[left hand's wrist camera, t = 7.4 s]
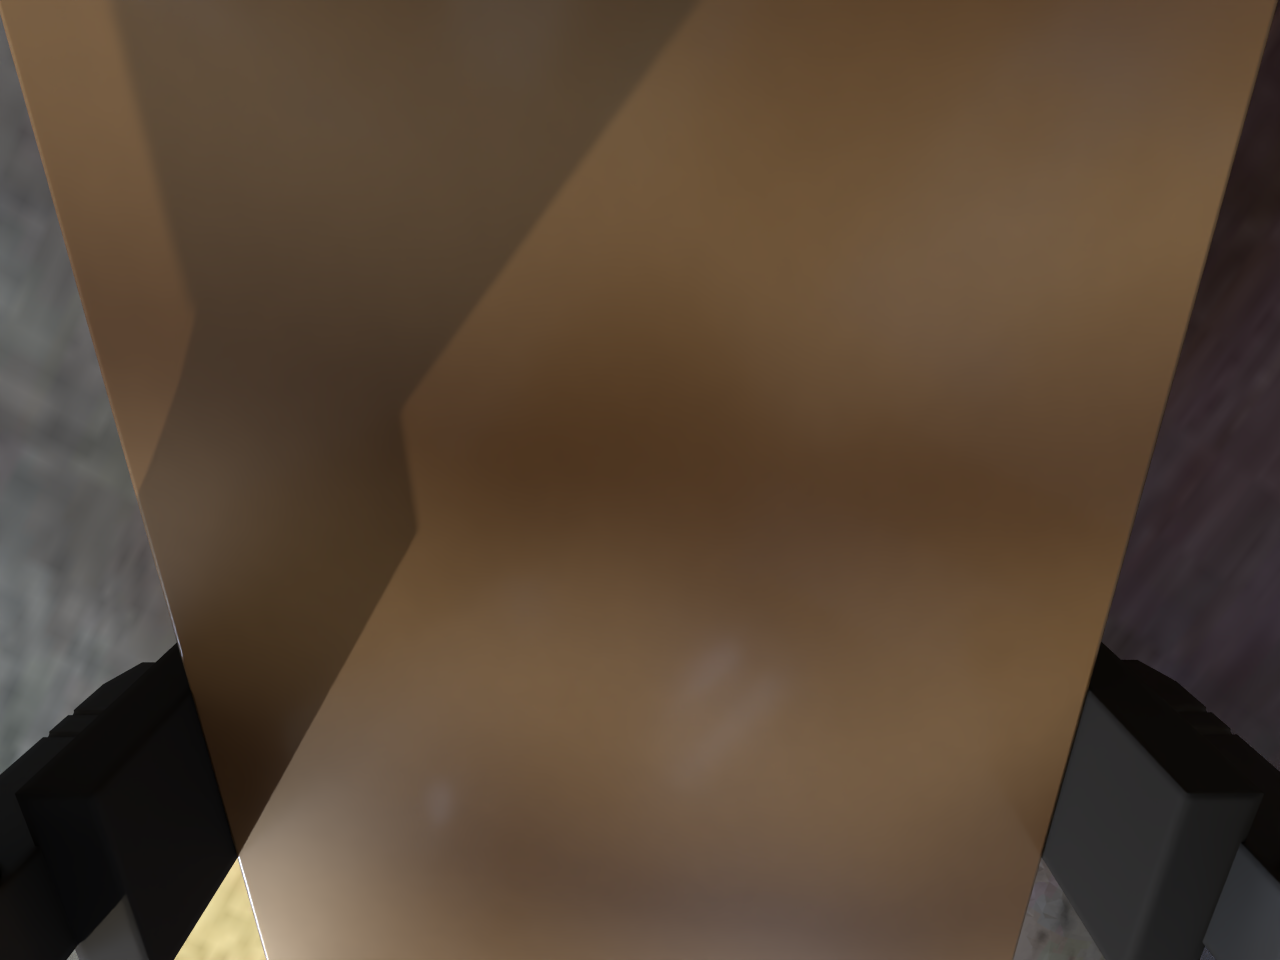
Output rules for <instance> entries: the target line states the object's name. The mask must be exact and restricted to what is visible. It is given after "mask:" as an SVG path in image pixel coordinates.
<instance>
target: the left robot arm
mask: <svg viewBox="0 0 1280 960" xmlns="http://www.w3.org/2000/svg"><path fill="white" fill-rule="evenodd" d="M49 733H50V734H49V736H48V737H43V738H42V739H41V740H39V741H38V742H37V743H36V744H35V745H34V746H33V747H31V748H30V749H29V750H28V751H27V752H26V753H25V754H23V755H22V756H21V757H20V758H19V759H18V760H17V761H16V762H14V763H13V764H12V765H11V766H10V767H9V768H8V769H6V770H5V771H4V772H3V773H2V774H1V775H0V960H67V958H68V957H69V956H70V955H71V953H72V952H73V951H74V949H75V950H76V953H77V955H78V958H79V960H174V959H175V957H176V955H177V954H178V952H179V951H180V949H181V947H182V946H183V944H184V943H185V941H186V939H187V938H188V936H189V935H190V933H191V931H192V930H193V928H194V927H195V925H196V923H197V922H198V920H199V919H200V917H201V915H202V914H203V912H204V911H205V909H206V907H207V906H208V904H209V902H210V901H211V899H212V898H213V896H214V894H215V893H216V891H217V890H218V888H219V886H220V885H221V883H222V882H223V880H224V878H225V877H226V875H227V874H228V872H229V870H230V869H231V867H232V866H233V864H234V862H235V861H236V859H237V858H238V857H237V854H236V850H235V846H234V843H233V839H232V836H231V832H230V829H229V825H228V822H227V818H226V814H225V811H224V807H223V804H222V800H221V797H220V793H219V790H218V786H217V782H216V779H215V775H214V772H213V768H212V765H211V761H210V758H209V754H208V750H207V747H206V743H205V740H204V736H203V733H202V729H201V726H200V722H199V718H198V715H197V711H196V708H195V704H194V701H193V697H192V694H191V690H190V686H189V683H188V679H187V676H186V672H185V669H184V665H183V662H182V658H181V654H180V651H179V647H178V644H177V643H176V644H175V645H174V646H173V647H172V648H171V649H170V650H168V651H167V652H166V653H165V654H164V655H163V656H162V657H161V658H160V659H159V660H158V661H157V662H142V663H140V664H139V665H137V666H135V667H133V668H132V669H130V670H128V671H126V672H124V673H123V674H121V675H119V676H117V677H115V678H114V679H112V680H110V681H108V682H107V683H105V684H103V685H102V686H101V687H100V688H98V689H97V690H96V691H95V692H94V693H93V694H92V695H91V696H89V697H88V698H87V699H86V700H85V701H84V702H83V703H81V704H80V705H79V706H78V707H77V708H76V709H75V710H74V714H73V715H68V716H67V717H66V718H64V719H63V720H62V721H61V722H60V723H59V724H58V725H56V726H55V727H54V728H53V729H52V730H51V731H50V732H49ZM1042 859H1043V860H1044V862H1045V864H1046V865H1047V867H1048V868H1049V870H1050V872H1051V873H1052V875H1053V876H1054V878H1055V880H1056V881H1057V883H1058V884H1059V886H1060V888H1061V889H1062V891H1063V893H1064V894H1065V896H1066V897H1067V899H1068V901H1069V902H1070V904H1071V905H1072V907H1073V909H1074V910H1075V912H1076V913H1077V915H1078V917H1079V918H1080V920H1081V921H1082V923H1083V925H1084V926H1085V928H1086V929H1087V931H1088V933H1089V934H1090V936H1091V937H1092V939H1093V941H1094V942H1095V944H1096V946H1097V947H1098V949H1099V950H1100V952H1101V954H1102V955H1103V957H1104V958H1105V960H1200V957H1201V955H1202V952H1203V950H1204V947H1205V946H1206V948H1207V949H1208V950H1209V952H1210V953H1211V954H1212V955H1213V957H1214V958H1215V959H1216V960H1280V772H1279V771H1278V770H1277V769H1276V768H1275V767H1274V766H1272V765H1271V764H1270V763H1269V762H1268V761H1267V760H1266V759H1264V758H1263V757H1262V756H1261V755H1260V754H1259V753H1258V752H1256V751H1255V750H1254V749H1253V748H1252V747H1251V746H1250V745H1248V744H1247V743H1246V742H1245V741H1244V740H1243V739H1242V738H1240V737H1239V736H1238V735H1237V734H1231V731H1230V728H1229V727H1228V726H1227V725H1226V724H1224V723H1223V722H1222V721H1221V720H1220V719H1219V718H1218V717H1216V716H1215V715H1214V714H1213V713H1212V712H1206V707H1205V706H1204V705H1203V704H1201V703H1200V702H1199V701H1198V700H1197V699H1196V698H1195V697H1193V696H1192V695H1191V694H1190V693H1189V692H1188V691H1187V690H1185V689H1184V688H1183V687H1182V686H1181V685H1180V684H1179V683H1177V682H1176V681H1174V680H1173V679H1171V678H1169V677H1167V676H1165V675H1164V674H1162V673H1160V672H1158V671H1156V670H1155V669H1153V668H1151V667H1149V666H1147V665H1146V664H1144V663H1142V662H1140V661H1138V660H1120V659H1119V658H1118V657H1117V656H1116V655H1115V654H1114V653H1113V652H1112V651H1111V650H1110V649H1109V648H1107V647H1106V646H1105V645H1104V644H1103V643H1102V642H1101V644H1100V648H1099V651H1098V655H1097V658H1096V662H1095V666H1094V669H1093V673H1092V677H1091V680H1090V684H1089V687H1088V691H1087V695H1086V698H1085V702H1084V706H1083V709H1082V713H1081V716H1080V720H1079V724H1078V727H1077V731H1076V735H1075V738H1074V742H1073V745H1072V749H1071V753H1070V756H1069V760H1068V764H1067V767H1066V771H1065V774H1064V778H1063V782H1062V785H1061V789H1060V792H1059V796H1058V800H1057V803H1056V807H1055V811H1054V814H1053V818H1052V821H1051V825H1050V829H1049V832H1048V836H1047V840H1046V843H1045V847H1044V850H1043V854H1042Z"/></svg>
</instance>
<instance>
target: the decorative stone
mask: <svg viewBox="0 0 1280 960" xmlns="http://www.w3.org/2000/svg"><path fill="white" fill-rule="evenodd" d="M1013 960H1105V958H1104V957H1103V955H1102V954H1101V952H1100V950H1099V949H1098V947H1097V946H1096V944H1095V942H1094V941H1093V939H1092V937H1091V936H1090V934H1089V933H1088V931H1087V929H1086V928H1085V926H1084V925H1083V923H1082V921H1081V920H1080V918H1079V917H1078V915H1077V913H1076V912H1075V910H1074V909H1073V907H1072V905H1071V904H1070V902H1069V901H1068V899H1067V897H1066V896H1065V894H1064V893H1063V891H1062V889H1061V888H1060V886H1059V884H1058V883H1057V881H1056V880H1055V878H1054V876H1053V875H1052V873H1051V872H1050V870H1049V868H1048V867H1047V865H1046V864H1045V862H1044V860H1043V859H1042V858H1041V861H1040V865H1039V869H1038V872H1037V876H1036V879H1035V883H1034V887H1033V890H1032V894H1031V898H1030V901H1029V905H1028V908H1027V912H1026V916H1025V919H1024V923H1023V927H1022V930H1021V934H1020V937H1019V941H1018V945H1017V948H1016V952H1015V956H1014V959H1013Z"/></svg>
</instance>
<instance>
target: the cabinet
mask: <svg viewBox="0 0 1280 960" xmlns="http://www.w3.org/2000/svg"><path fill="white" fill-rule="evenodd" d="M1277 3H1278V0H0V14H1V18H2V21H3V25H4V28H5V32H6V36H7V39H8V43H9V46H10V50H11V53H12V57H13V60H14V64H15V68H16V71H17V75H18V78H19V82H20V85H21V89H22V92H23V96H24V100H25V103H26V107H27V110H28V114H29V117H30V121H31V125H32V128H33V132H34V135H35V139H36V142H37V146H38V149H39V153H40V157H41V160H42V164H43V167H44V171H45V174H46V178H47V181H48V185H49V189H50V192H51V196H52V199H53V203H54V206H55V210H56V213H57V217H58V221H59V224H60V228H61V231H62V235H63V238H64V242H65V245H66V249H67V253H68V256H69V260H70V263H71V267H72V270H73V274H74V277H75V281H76V285H77V288H78V292H79V295H80V299H81V302H82V306H83V309H84V313H85V317H86V320H87V324H88V327H89V331H90V334H91V338H92V341H93V345H94V349H95V352H96V356H97V359H98V363H99V366H100V370H101V373H102V377H103V381H104V384H105V388H106V391H107V395H108V398H109V402H110V405H111V409H112V413H113V416H114V420H115V423H116V427H117V430H118V434H119V437H120V441H121V445H122V448H123V452H124V455H125V459H126V462H127V466H128V469H129V473H130V477H131V480H132V484H133V487H134V491H135V494H136V498H137V501H138V505H139V509H140V512H141V516H142V519H143V523H144V526H145V530H146V533H147V537H148V541H149V544H150V548H151V551H152V555H153V558H154V562H155V565H156V569H157V573H158V576H159V580H160V583H161V587H162V590H163V594H164V598H165V601H166V605H167V608H168V612H169V615H170V619H171V622H172V626H173V630H174V633H175V637H176V640H177V644H178V647H179V651H180V654H181V658H182V662H183V665H184V669H185V672H186V676H187V679H188V683H189V686H190V690H191V694H192V697H193V701H194V704H195V708H196V711H197V715H198V718H199V722H200V726H201V729H202V733H203V736H204V740H205V743H206V747H207V750H208V754H209V758H210V761H211V765H212V768H213V772H214V775H215V779H216V782H217V786H218V790H219V793H220V797H221V800H222V804H223V807H224V811H225V814H226V818H227V822H228V825H229V829H230V832H231V836H232V839H233V843H234V846H235V850H236V854H237V857H238V861H239V864H240V868H241V871H242V875H243V878H244V882H245V886H246V889H247V893H248V896H249V900H250V903H251V907H252V910H253V914H254V918H255V921H256V925H257V928H258V932H259V935H260V939H261V942H262V946H263V950H264V953H265V957H266V960H1013V959H1014V956H1015V952H1016V948H1017V945H1018V941H1019V937H1020V934H1021V930H1022V927H1023V923H1024V919H1025V916H1026V912H1027V908H1028V905H1029V901H1030V898H1031V894H1032V890H1033V887H1034V883H1035V879H1036V876H1037V872H1038V869H1039V865H1040V861H1041V858H1042V854H1043V850H1044V847H1045V843H1046V840H1047V836H1048V832H1049V829H1050V825H1051V821H1052V818H1053V814H1054V811H1055V807H1056V803H1057V800H1058V796H1059V792H1060V789H1061V785H1062V782H1063V778H1064V774H1065V771H1066V767H1067V764H1068V760H1069V756H1070V753H1071V749H1072V745H1073V742H1074V738H1075V735H1076V731H1077V727H1078V724H1079V720H1080V716H1081V713H1082V709H1083V706H1084V702H1085V698H1086V695H1087V691H1088V687H1089V684H1090V680H1091V677H1092V673H1093V669H1094V666H1095V662H1096V658H1097V655H1098V651H1099V648H1100V644H1101V640H1102V637H1103V633H1104V629H1105V626H1106V622H1107V619H1108V615H1109V611H1110V608H1111V604H1112V601H1113V597H1114V593H1115V590H1116V586H1117V582H1118V579H1119V575H1120V572H1121V568H1122V564H1123V561H1124V557H1125V553H1126V550H1127V546H1128V543H1129V539H1130V535H1131V532H1132V528H1133V524H1134V521H1135V517H1136V514H1137V510H1138V506H1139V503H1140V499H1141V495H1142V492H1143V488H1144V485H1145V481H1146V477H1147V474H1148V470H1149V466H1150V463H1151V459H1152V456H1153V452H1154V448H1155V445H1156V441H1157V437H1158V434H1159V430H1160V427H1161V423H1162V419H1163V416H1164V412H1165V409H1166V405H1167V401H1168V398H1169V394H1170V390H1171V387H1172V383H1173V380H1174V376H1175V372H1176V369H1177V365H1178V361H1179V358H1180V354H1181V351H1182V347H1183V343H1184V340H1185V336H1186V332H1187V329H1188V325H1189V322H1190V318H1191V314H1192V311H1193V307H1194V303H1195V300H1196V296H1197V293H1198V289H1199V285H1200V282H1201V278H1202V274H1203V271H1204V267H1205V264H1206V260H1207V256H1208V253H1209V249H1210V245H1211V242H1212V238H1213V235H1214V231H1215V227H1216V224H1217V220H1218V217H1219V213H1220V209H1221V206H1222V202H1223V198H1224V195H1225V191H1226V188H1227V184H1228V180H1229V177H1230V173H1231V169H1232V166H1233V162H1234V159H1235V155H1236V151H1237V148H1238V144H1239V140H1240V137H1241V133H1242V130H1243V126H1244V122H1245V119H1246V115H1247V111H1248V108H1249V104H1250V101H1251V97H1252V93H1253V90H1254V86H1255V82H1256V79H1257V75H1258V72H1259V68H1260V64H1261V61H1262V57H1263V53H1264V50H1265V46H1266V43H1267V39H1268V35H1269V32H1270V28H1271V25H1272V21H1273V17H1274V14H1275V10H1276V6H1277Z"/></svg>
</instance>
